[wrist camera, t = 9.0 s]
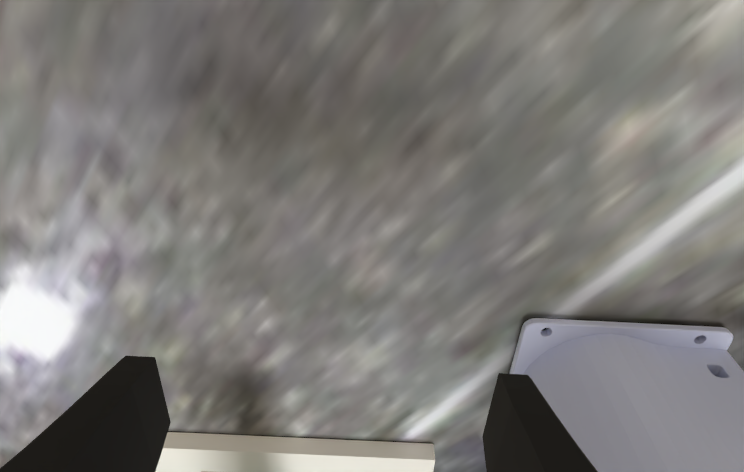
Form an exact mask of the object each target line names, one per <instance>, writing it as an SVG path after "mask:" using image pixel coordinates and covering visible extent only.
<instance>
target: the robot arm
mask: <svg viewBox="0 0 744 472" xmlns="http://www.w3.org/2000/svg"><path fill="white" fill-rule="evenodd" d="M544 328H549V329H547V330H544V331H542V329H544ZM698 336H699V337H698ZM696 337H697V338H696ZM732 340H733V334H732V333H731V332H730V331H729V330H728V329H727V328H724V327H709V326H688V325H668V324H647V323H627V322H606V321H585V320H565V319H544V318H532V319H529V320H527V321H526V322H524V324H523V326H522V329H521V333H520V337H519V340H518V344H517V348H516V351H515V355H514V359H513V362H512V366H511V370H510V373H509V374H500V373H499V375H498V379H497V383H496V387H495V390H494V394H493V398H492V402H491V406H490V410H489V414H488V418H487V421H486V425H485V429H484V433H483V443H484V452H485V461H486V469H487V472H744V371H743V370H742V369H741V367H740V366H739V365H738V364H737V362H736V361H735V360H734V359H733V358H732V356H731V355H730V354H729V353H728V351H727V349H728V347H729V346H730V344H731V342H732ZM169 426H170V418H169V414H168V410H167V406H166V402H165V397H164V393H163V389H162V385H161V381H160V377H159V372H158V368H157V364H156V360H155V357H138V356H125V357H124V358H123V359H121V360H120V361H119V362H118V363H117V364H116V365H115V366H114V367H113V368H112V369H110V370H109V371H108V372H107V373H106V374H105V375H104V376H103V377H102V378H101V379H100V380H99V381H98V382H97V383H95V384H94V385H93V386H92V387H91V388H90V389H89V390H88V391H87V392H86V393H85V394H84V395H83V396H82V397H81V398H79V399H78V400H77V401H76V402H75V403H74V404H73V405H72V406H71V407H70V408H69V409H68V410H67V411H65V412H64V413H63V414H62V415H61V416H60V417H59V418H58V419H57V420H55V421H54V422H53V423H52V424H51V425H50V426H49V427H48V428H47V429H45V430H44V431H43V432H42V433H41V434H40V435H39V436H38V437H37V438H35V439H34V440H33V441H32V442H31V443H30V444H29V445H28V446H26V447H25V448H24V449H23V450H22V451H21V452H19V453H18V454H17V455H16V456H15V457H13V458H12V459H11V460H10V461H9V462H7V463H6V464H5V465H4V466H3V467H1V468H0V472H155V471H156V468H157V465H158V462H159V459H160V456H161V452H162V449H163V446H164V443H165V439H166V436H167V432H168V429H169Z"/></svg>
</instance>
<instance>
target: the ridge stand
mask: <svg viewBox="0 0 744 472" xmlns="http://www.w3.org/2000/svg"><path fill="white" fill-rule="evenodd" d="M434 464H435V453H434V444H427V443H404V442H382V441H360V440H337V439H315V438H292V437H270V436H248V435H225V434H203V433H181V432H167V436H166V439H165V443H164V446H163V449H162V452H161V456H160V459H159V462H158V465H157V468H156V471H155V472H201V471H216V472H433V469H434Z"/></svg>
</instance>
